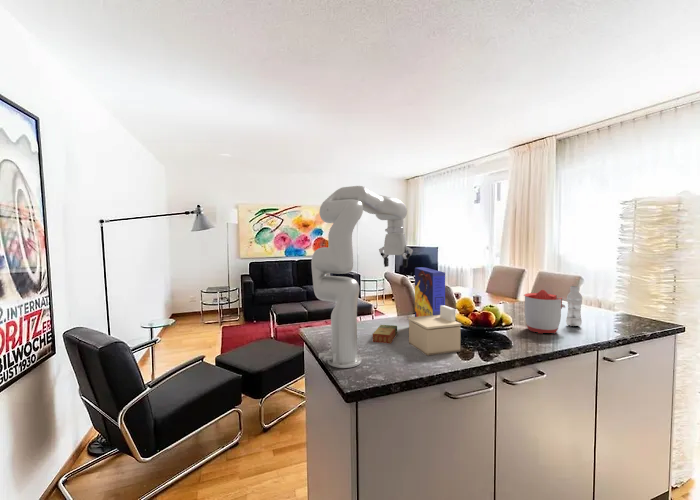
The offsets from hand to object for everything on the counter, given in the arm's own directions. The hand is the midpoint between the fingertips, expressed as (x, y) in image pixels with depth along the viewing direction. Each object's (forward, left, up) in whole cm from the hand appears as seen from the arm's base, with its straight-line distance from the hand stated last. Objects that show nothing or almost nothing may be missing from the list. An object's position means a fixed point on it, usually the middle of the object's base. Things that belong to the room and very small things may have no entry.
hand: (395, 266), depth 162 cm
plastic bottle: (+87, -22, -31) cm, 95 cm away
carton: (-8, -7, -32) cm, 34 cm away
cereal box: (+15, -6, -32) cm, 35 cm away
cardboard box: (+5, -26, -31) cm, 41 cm away
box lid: (+5, -26, -21) cm, 34 cm away
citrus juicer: (+67, -23, -32) cm, 77 cm away
